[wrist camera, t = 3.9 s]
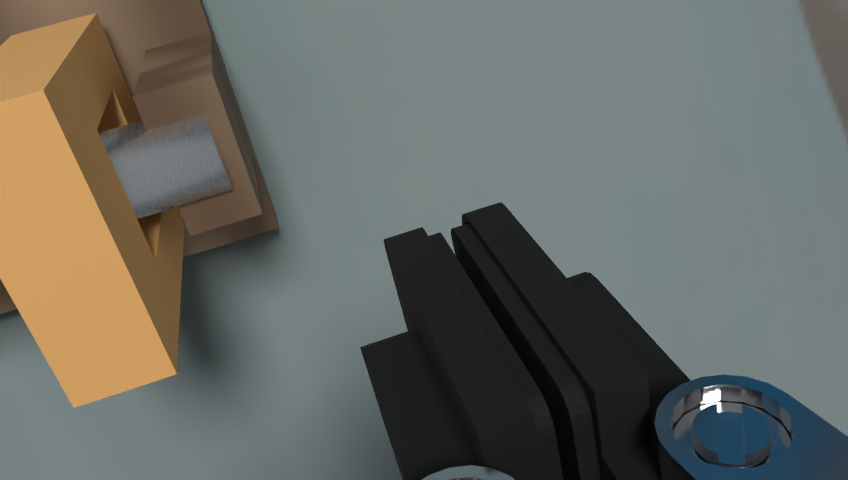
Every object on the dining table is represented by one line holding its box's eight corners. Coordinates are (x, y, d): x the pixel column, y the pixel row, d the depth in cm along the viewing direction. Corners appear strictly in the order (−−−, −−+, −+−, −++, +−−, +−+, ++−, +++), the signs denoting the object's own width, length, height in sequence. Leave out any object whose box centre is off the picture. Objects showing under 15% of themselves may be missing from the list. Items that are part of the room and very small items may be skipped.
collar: (96, 12, 22) (43, 90, 15) (184, 224, 25) (176, 374, 18) (11, 35, 22) (-87, 126, 14) (111, 246, 25) (73, 408, 18)
